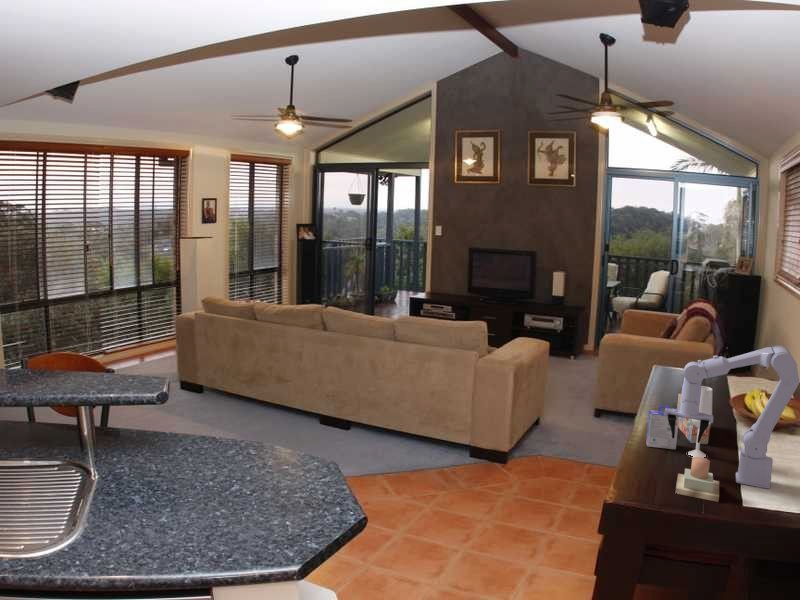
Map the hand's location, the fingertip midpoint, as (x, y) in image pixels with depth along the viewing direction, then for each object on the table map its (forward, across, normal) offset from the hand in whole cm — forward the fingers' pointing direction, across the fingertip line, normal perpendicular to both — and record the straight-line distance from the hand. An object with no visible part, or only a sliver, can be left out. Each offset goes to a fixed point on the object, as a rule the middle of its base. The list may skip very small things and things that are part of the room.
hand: (685, 439), depth 236 cm
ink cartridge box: (+11, +8, -19) cm, 23 cm away
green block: (+9, -5, +14) cm, 17 cm away
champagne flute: (+11, -4, -16) cm, 20 cm away
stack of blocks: (+11, -1, -38) cm, 40 cm away
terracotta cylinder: (+6, -5, +14) cm, 16 cm away
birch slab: (+11, -5, +14) cm, 19 cm away
